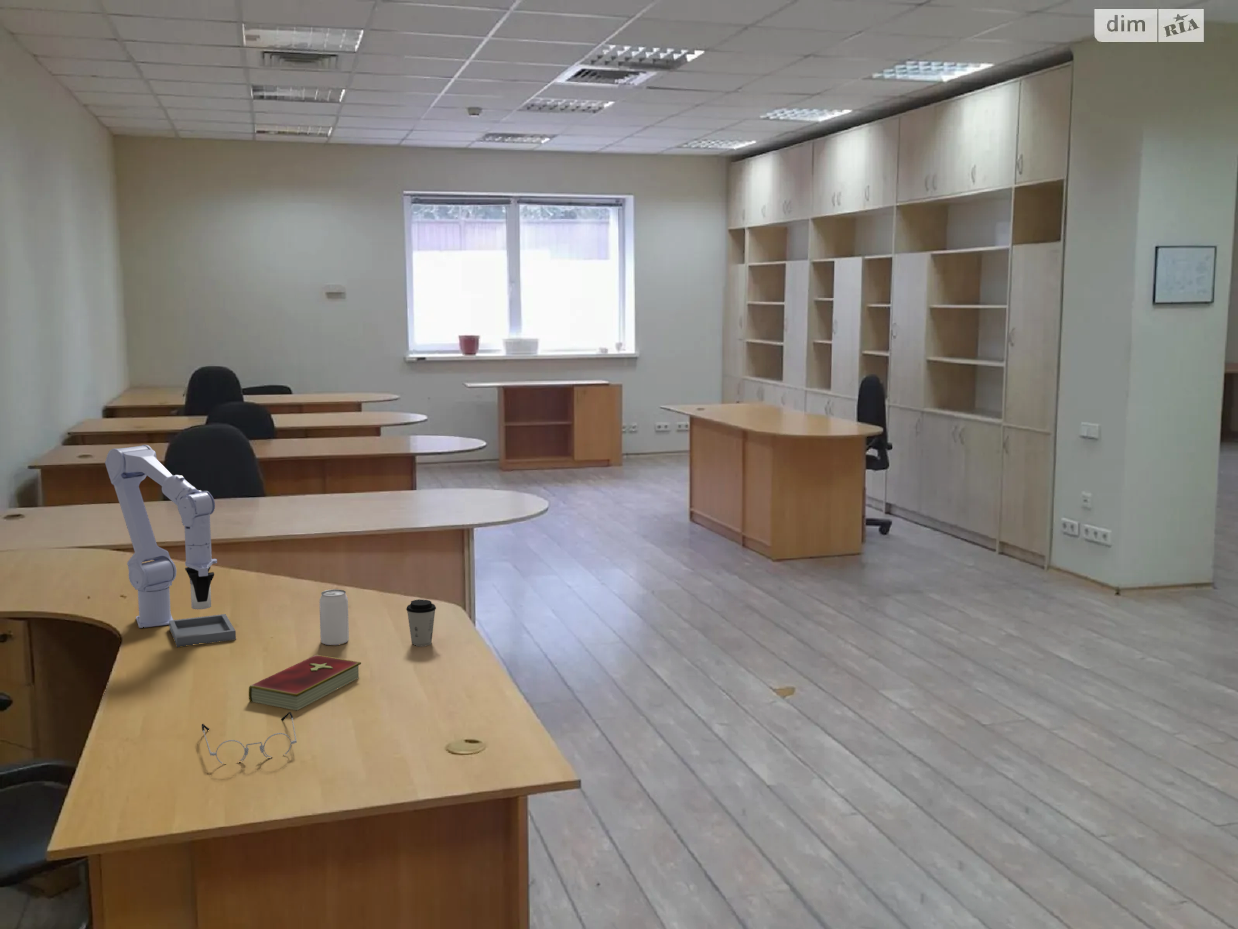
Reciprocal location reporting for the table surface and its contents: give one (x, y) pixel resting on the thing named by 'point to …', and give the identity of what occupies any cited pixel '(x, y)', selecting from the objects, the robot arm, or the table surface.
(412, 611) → the coffee cup
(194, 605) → the shaker
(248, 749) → the eyeglasses
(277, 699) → the hardcover book
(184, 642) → the tray
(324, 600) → the can
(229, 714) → the table surface
